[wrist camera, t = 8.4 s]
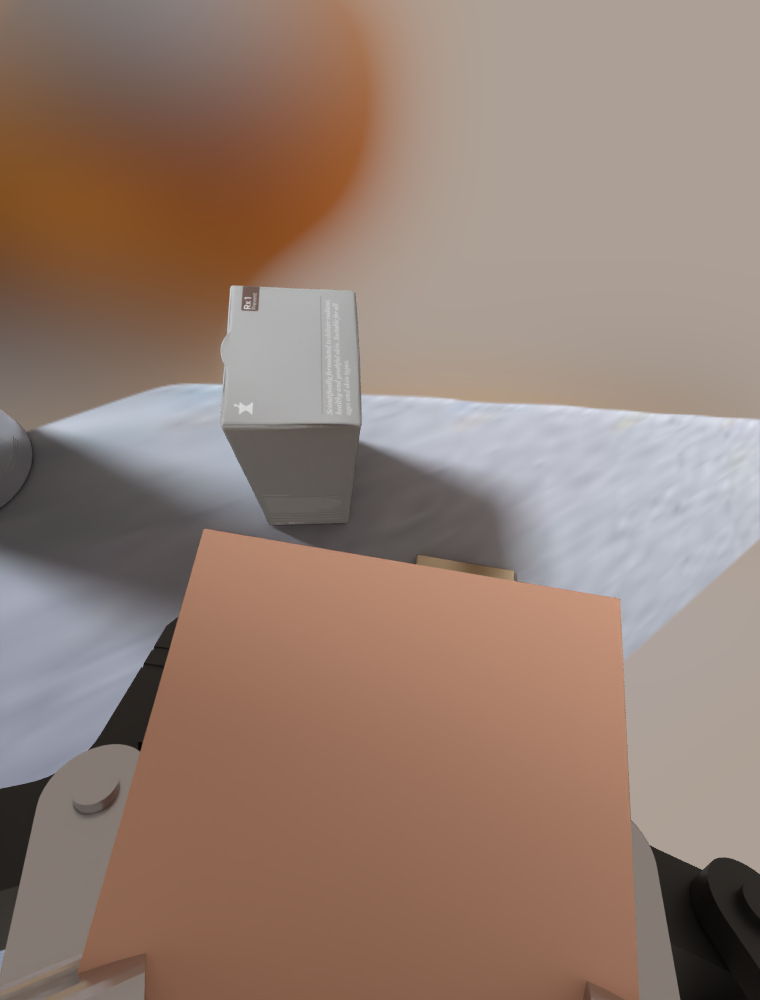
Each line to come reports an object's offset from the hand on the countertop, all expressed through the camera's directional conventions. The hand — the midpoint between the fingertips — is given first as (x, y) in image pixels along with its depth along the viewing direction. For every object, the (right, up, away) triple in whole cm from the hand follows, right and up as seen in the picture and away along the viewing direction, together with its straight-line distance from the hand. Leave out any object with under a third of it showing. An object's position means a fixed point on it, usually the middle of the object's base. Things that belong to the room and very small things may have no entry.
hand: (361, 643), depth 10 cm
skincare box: (-6, +5, +25) cm, 26 cm away
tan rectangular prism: (-1, -3, +3) cm, 5 cm away
